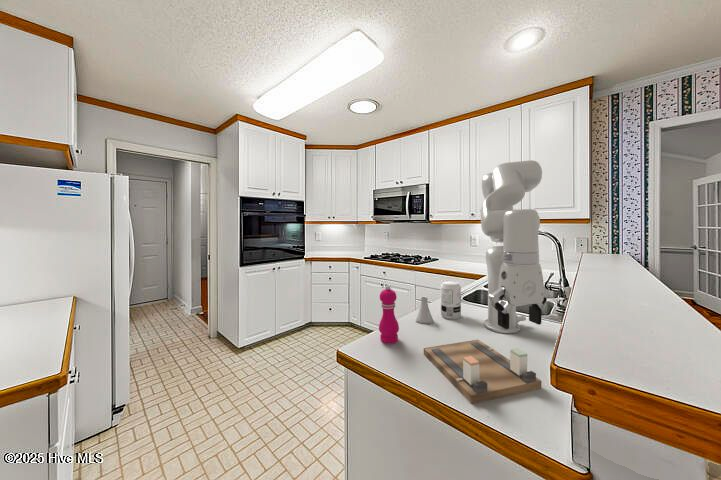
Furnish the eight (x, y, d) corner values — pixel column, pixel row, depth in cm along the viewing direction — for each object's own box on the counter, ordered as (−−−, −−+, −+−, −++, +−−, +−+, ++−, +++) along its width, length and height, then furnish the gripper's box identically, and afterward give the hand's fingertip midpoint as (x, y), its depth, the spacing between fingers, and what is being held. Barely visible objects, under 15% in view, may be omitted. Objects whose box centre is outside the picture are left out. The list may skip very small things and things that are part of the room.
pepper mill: (398, 345, 93) (397, 288, 91) (377, 343, 94) (376, 287, 93) (399, 335, 100) (398, 282, 98) (380, 334, 101) (378, 282, 100)
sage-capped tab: (510, 369, 71) (510, 349, 71) (517, 367, 72) (518, 348, 72) (519, 375, 69) (519, 355, 68) (527, 374, 69) (527, 353, 69)
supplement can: (438, 313, 121) (438, 280, 120) (457, 313, 121) (457, 280, 120) (443, 320, 113) (443, 285, 112) (463, 319, 113) (463, 284, 112)
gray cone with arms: (430, 325, 108) (430, 301, 107) (413, 322, 112) (412, 299, 111) (435, 319, 114) (435, 296, 114) (419, 316, 118) (418, 294, 117)
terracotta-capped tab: (463, 377, 68) (463, 357, 68) (471, 376, 69) (471, 356, 68) (470, 384, 65) (470, 363, 65) (479, 383, 66) (479, 362, 66)
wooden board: (423, 354, 86) (423, 342, 86) (478, 345, 91) (478, 333, 90) (471, 403, 63) (471, 387, 62) (541, 388, 67) (541, 373, 67)
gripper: (502, 262, 62) (501, 335, 63) (561, 258, 66) (560, 326, 67) (480, 258, 69) (480, 323, 71) (535, 255, 73) (534, 316, 75)
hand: (519, 324), depth 69 cm, fingers open, 9 cm apart
